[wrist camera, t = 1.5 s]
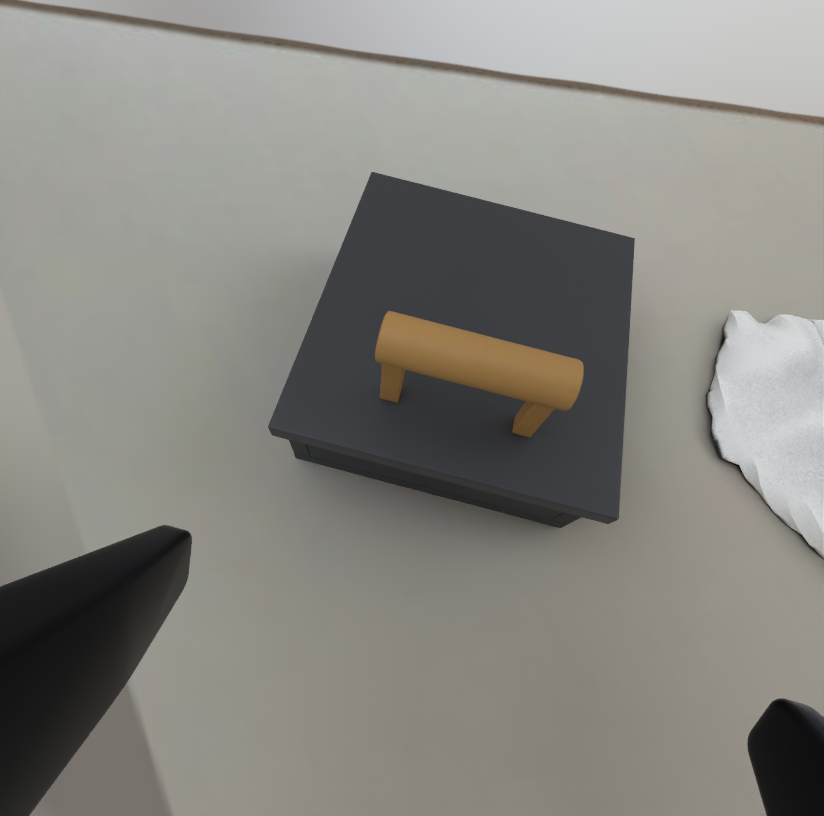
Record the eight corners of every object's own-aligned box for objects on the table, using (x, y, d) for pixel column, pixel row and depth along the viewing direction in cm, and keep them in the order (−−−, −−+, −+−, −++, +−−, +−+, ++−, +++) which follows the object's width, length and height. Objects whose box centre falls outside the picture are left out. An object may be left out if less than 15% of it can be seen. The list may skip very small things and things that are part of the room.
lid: (608, 524, 18) (698, 485, 13) (271, 435, 18) (238, 364, 13) (626, 250, 23) (693, 153, 18) (371, 185, 23) (373, 73, 19)
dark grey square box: (560, 528, 22) (609, 503, 18) (295, 458, 22) (279, 416, 18) (584, 310, 28) (626, 251, 23) (370, 255, 28) (371, 186, 23)
